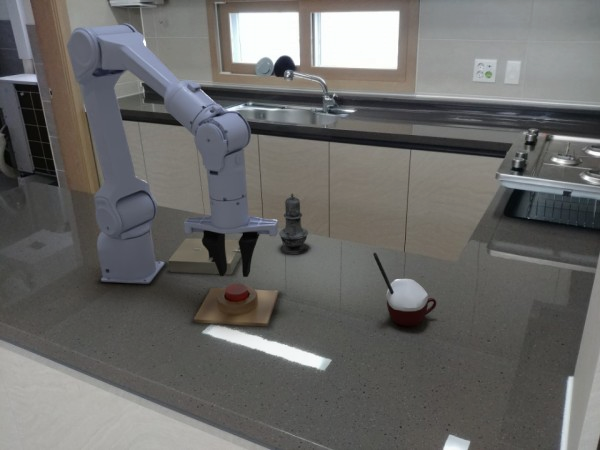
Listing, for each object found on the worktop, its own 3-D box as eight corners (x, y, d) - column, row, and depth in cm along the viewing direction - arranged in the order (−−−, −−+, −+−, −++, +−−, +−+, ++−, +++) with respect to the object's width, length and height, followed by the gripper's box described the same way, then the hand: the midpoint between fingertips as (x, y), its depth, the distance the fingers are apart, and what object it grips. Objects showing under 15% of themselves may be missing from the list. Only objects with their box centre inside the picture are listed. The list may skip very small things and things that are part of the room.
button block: (193, 322, 86) (192, 309, 85) (211, 290, 95) (210, 278, 94) (267, 327, 84) (266, 313, 83) (278, 294, 93) (278, 281, 92)
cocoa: (436, 314, 86) (441, 246, 81) (431, 336, 80) (437, 265, 76) (377, 305, 89) (379, 239, 84) (369, 325, 83) (371, 257, 79)
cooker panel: (169, 272, 101) (168, 259, 100) (187, 249, 110) (185, 237, 109) (234, 275, 100) (233, 262, 99) (246, 251, 109) (246, 239, 108)
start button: (223, 302, 87) (222, 294, 86) (229, 291, 90) (228, 282, 90) (245, 303, 87) (244, 295, 86) (250, 292, 90) (249, 283, 89)
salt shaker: (305, 256, 106) (304, 199, 101) (276, 254, 107) (273, 197, 102) (310, 243, 111) (309, 188, 107) (283, 241, 112) (280, 187, 108)
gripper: (279, 186, 84) (283, 263, 89) (190, 184, 86) (199, 260, 91) (271, 202, 77) (275, 284, 83) (175, 200, 79) (185, 280, 85)
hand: (235, 273), depth 87 cm, fingers open, 3 cm apart
